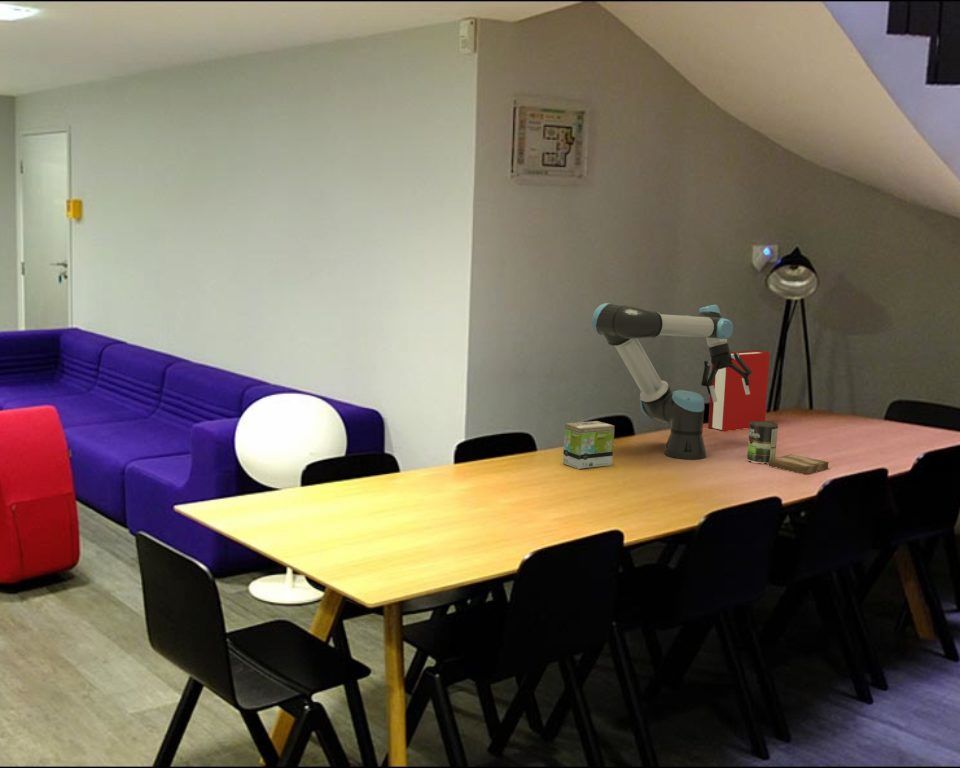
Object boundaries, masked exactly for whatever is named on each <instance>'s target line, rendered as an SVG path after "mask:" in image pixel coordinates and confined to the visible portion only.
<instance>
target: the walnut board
mask: <svg viewBox="0 0 960 768" xmlns="http://www.w3.org/2000/svg"><path fill="white" fill-rule="evenodd" d="M768 465H769V466H772V467H771V468H773V467H777V468H781V469H780V470H782V469H785V470H784V471H786V470H789V471H788V472H791V471H794V472H793V473H796V472H799V473H798V474H800V473H803V474H802V475H805V474H806V475H809V473H810V474H813V473H812V472H814V473H817V472H816V471H818V472H821V471H825V470H828V469H829V461H825V460H822V459H821V460H820V459H817V458H811V457H806V456H801V455H797V454H787V455H783V456H779V457H775V458H774V459H770V460H769V463H768V464H767V466H768ZM777 468H776V469H777Z"/></svg>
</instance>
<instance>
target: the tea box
mask: <svg viewBox="0 0 960 768" xmlns="http://www.w3.org/2000/svg"><path fill="white" fill-rule="evenodd" d="M564 425H565V427H564V439H563V455H562V464H563V465H565V466H566V465H567V466H569V467H572V468H575V469H577V470H582V469H587V468H598V467H611V466H612V465H613V458H614V457H613V455H614V444H615V443H614V442H615V440H614V439H615V425H613V424H610V423H606V422H603V421H602V422H601V421H598V420H594V421H583V422H571V423H565V424H564ZM610 465H611V466H610Z"/></svg>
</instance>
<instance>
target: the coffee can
mask: <svg viewBox="0 0 960 768" xmlns="http://www.w3.org/2000/svg"><path fill="white" fill-rule="evenodd" d="M778 429H779V423H776V422H774V421H773V422H772V421H766V420H765V421H751V422H749V428H748V439H747V440H748V442H747V451H746V453H747V455H746V461H747V460H748V461H747V462H749V461H751V462H759V463H769V460H770V459H774V458H776V453H777V442H778V441H777V440H778V431H779V430H778ZM751 462H750V463H751Z"/></svg>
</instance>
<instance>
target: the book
mask: <svg viewBox="0 0 960 768" xmlns="http://www.w3.org/2000/svg"><path fill="white" fill-rule="evenodd" d="M735 353H739V355H740V358H741V359H742V360H743V362H744V363H745V364H746V365H747V366H748V368H749V369H750V370H751V371H752V374H751V375H749V376H748V378H749V382H750V385H748V387H749V391H750V394H748V395H746V394H745V390H744V386H743V382H742V378H743V376H741V375H740V374H739V373H737V372H736V371H735V370H733V369H732V368H731V367H727V368H723V369H719V370H718V371H717V373H716V376H715V378H714V380H713V382H712V384H711V386H713V385H714V389H715V393H716V397H717V402H714V403H713V400H712V396H711V394H710V395H709V405H708V406H709V407H708V408H709V409H708V421H707V422H708V424H707V429H716V430H721V432H722V431H724V432H729V431H728V430H732V431H737V430H736V429H740V430H744V429H743V428H748V429H749V422H751V421H766V413H767V395H768V387H769V386H768V383H769V371H770V357H771V356H770V355H771V351H766V350H759V349H757V350H756V349H753V350H738V351H736V350H735V351H730V354H731V355H733V354H735ZM731 362H733V363H734V364H735V365H736V366H737V367H739V368H740V369H741V370H743V368H742V367H741V366H740V365H739V364H738V362H737V361H736V360H735V359H734V358H732V361H731ZM713 367H714V365H713V364H712V363H711V370H712V369H713ZM743 371H744V370H743ZM744 372H745V371H744ZM745 373H746V372H745Z"/></svg>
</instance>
